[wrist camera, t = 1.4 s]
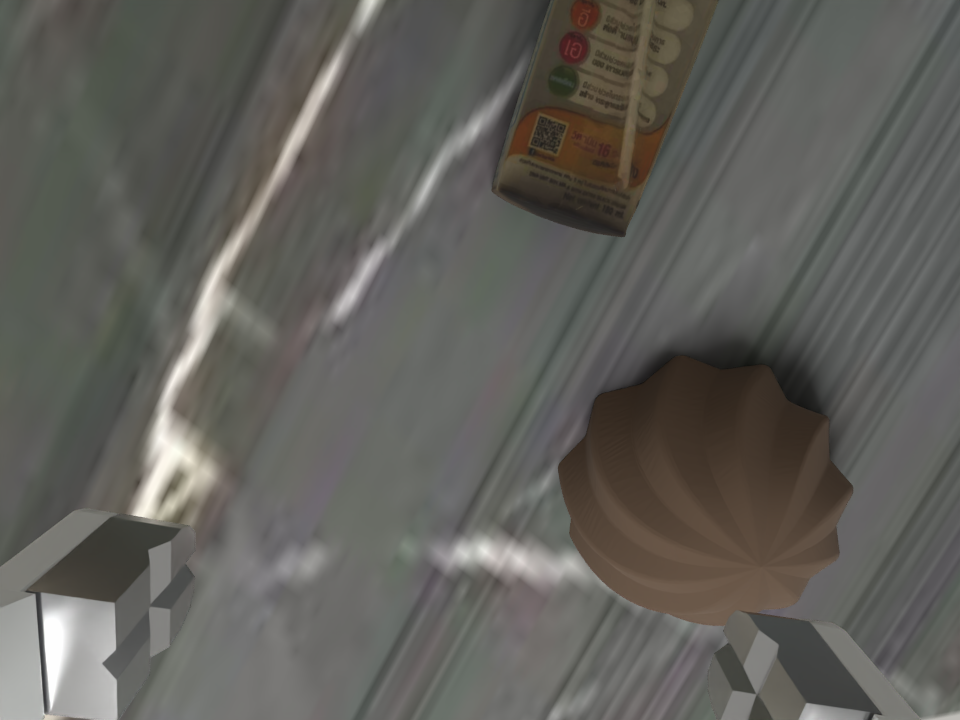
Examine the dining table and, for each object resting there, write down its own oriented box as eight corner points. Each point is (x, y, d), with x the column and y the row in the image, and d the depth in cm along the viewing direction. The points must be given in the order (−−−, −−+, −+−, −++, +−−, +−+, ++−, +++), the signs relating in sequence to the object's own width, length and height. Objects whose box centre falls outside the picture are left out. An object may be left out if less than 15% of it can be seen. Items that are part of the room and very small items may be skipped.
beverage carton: (737, -107, 29) (809, -193, 22) (603, 238, 34) (630, 247, 28) (600, -163, 28) (633, -268, 22) (486, 198, 33) (486, 198, 27)
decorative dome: (713, 294, 35) (798, 330, 25) (878, 483, 39) (1005, 576, 29) (503, 475, 39) (509, 565, 30) (672, 629, 43) (724, 752, 34)
